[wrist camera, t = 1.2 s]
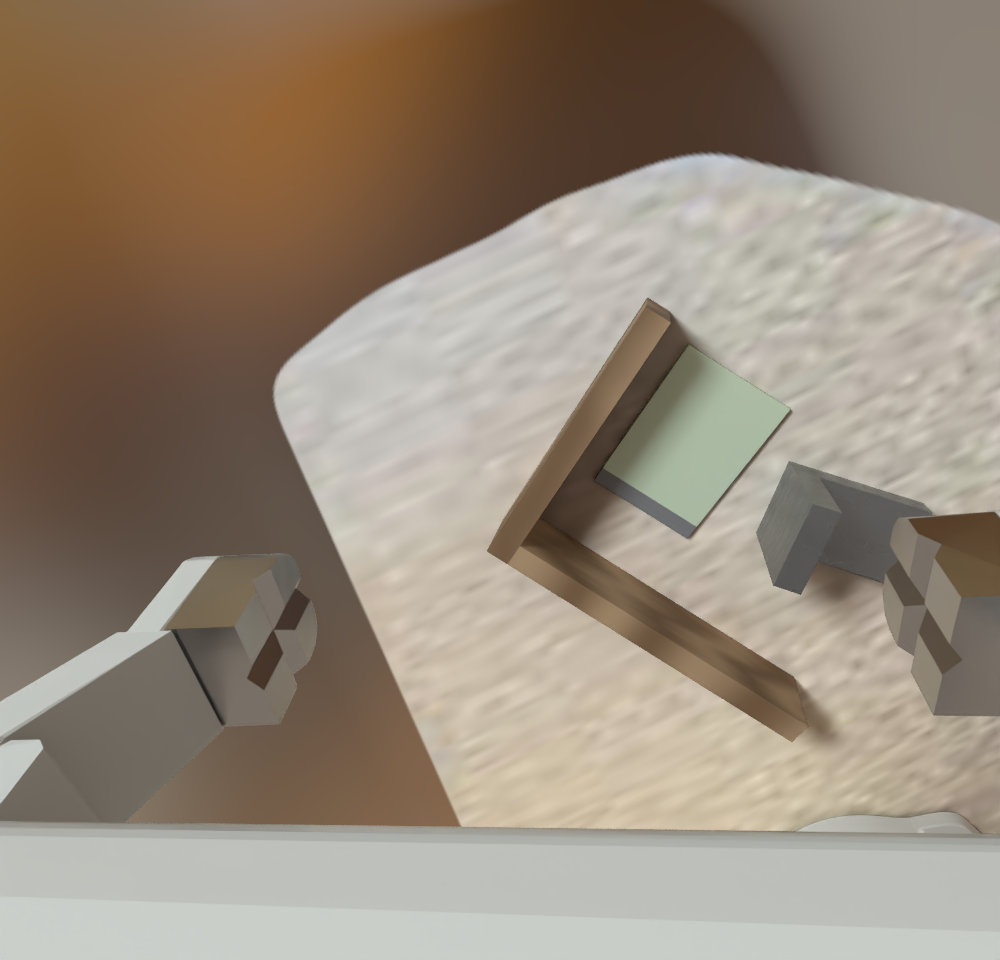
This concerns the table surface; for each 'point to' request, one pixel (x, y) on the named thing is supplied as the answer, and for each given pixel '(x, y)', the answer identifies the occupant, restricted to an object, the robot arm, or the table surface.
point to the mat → (690, 441)
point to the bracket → (829, 527)
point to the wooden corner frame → (615, 590)
